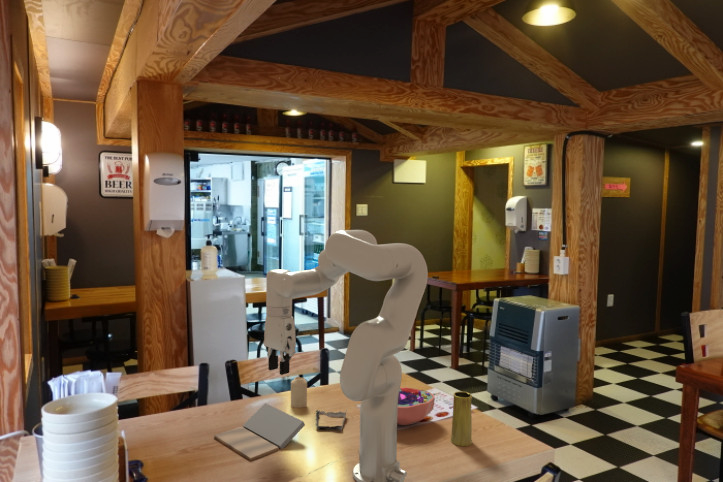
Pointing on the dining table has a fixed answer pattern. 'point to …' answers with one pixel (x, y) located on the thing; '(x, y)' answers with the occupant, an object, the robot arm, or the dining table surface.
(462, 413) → the vase
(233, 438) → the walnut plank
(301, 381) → the beige bottle
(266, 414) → the grey flat slab
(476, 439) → the dining table surface
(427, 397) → the cell model
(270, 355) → the robot arm
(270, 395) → the dining table surface
